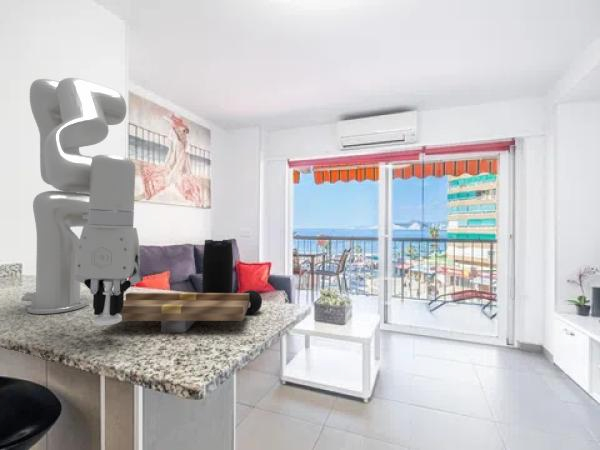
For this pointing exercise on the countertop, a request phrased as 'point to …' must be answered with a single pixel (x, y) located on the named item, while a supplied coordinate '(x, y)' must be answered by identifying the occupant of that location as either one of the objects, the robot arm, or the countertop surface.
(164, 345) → the countertop surface
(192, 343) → the countertop surface
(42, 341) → the countertop surface
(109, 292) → the chess piece
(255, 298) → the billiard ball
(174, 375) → the countertop surface
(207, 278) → the portable speaker
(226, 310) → the beam
